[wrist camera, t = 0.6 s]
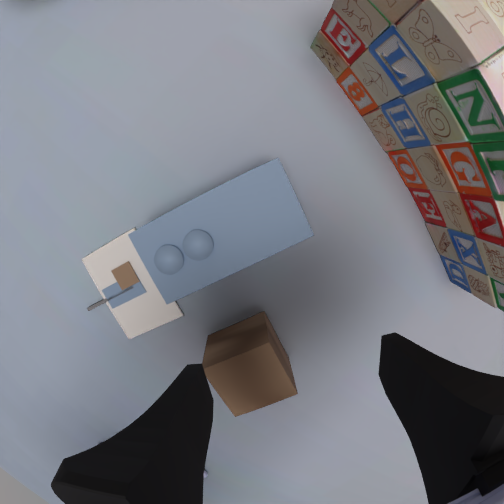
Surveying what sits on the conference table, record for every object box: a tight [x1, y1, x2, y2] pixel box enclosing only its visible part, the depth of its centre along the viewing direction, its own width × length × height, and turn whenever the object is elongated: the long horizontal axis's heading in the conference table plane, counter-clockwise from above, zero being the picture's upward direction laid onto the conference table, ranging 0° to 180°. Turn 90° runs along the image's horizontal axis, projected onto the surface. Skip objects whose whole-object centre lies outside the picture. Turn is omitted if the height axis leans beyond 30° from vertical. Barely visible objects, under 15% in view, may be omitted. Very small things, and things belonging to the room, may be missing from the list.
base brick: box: [128, 158, 314, 304], centre depth 18 cm, size 9×4×4 cm, turn 116°
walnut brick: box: [202, 311, 298, 417], centre depth 20 cm, size 4×4×4 cm
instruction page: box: [82, 228, 184, 339], centre depth 21 cm, size 7×7×1 cm
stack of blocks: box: [311, 0, 504, 311], centre depth 13 cm, size 21×6×12 cm, turn 37°
